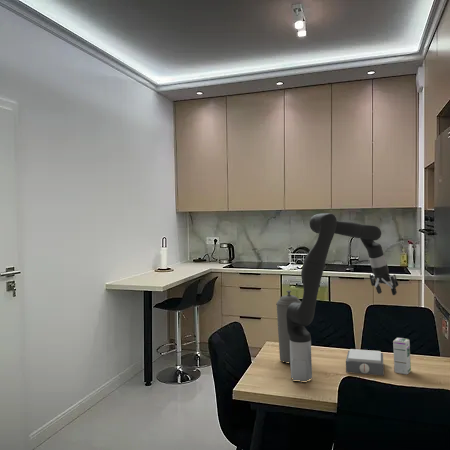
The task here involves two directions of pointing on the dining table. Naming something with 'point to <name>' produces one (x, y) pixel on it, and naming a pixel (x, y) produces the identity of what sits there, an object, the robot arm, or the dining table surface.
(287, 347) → the canister
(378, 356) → the kitchen scale
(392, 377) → the dining table surface
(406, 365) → the syrup box
